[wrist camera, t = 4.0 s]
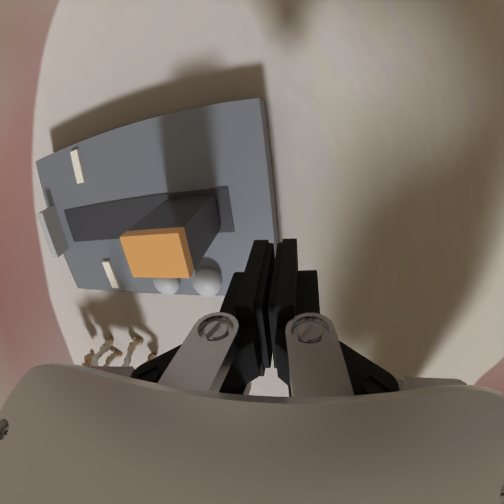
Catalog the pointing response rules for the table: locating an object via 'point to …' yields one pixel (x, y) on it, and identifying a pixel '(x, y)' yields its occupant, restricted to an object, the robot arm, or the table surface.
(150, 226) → the fader knob
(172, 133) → the console
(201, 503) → the robot arm
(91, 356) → the unicorn figurine
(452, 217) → the table surface
